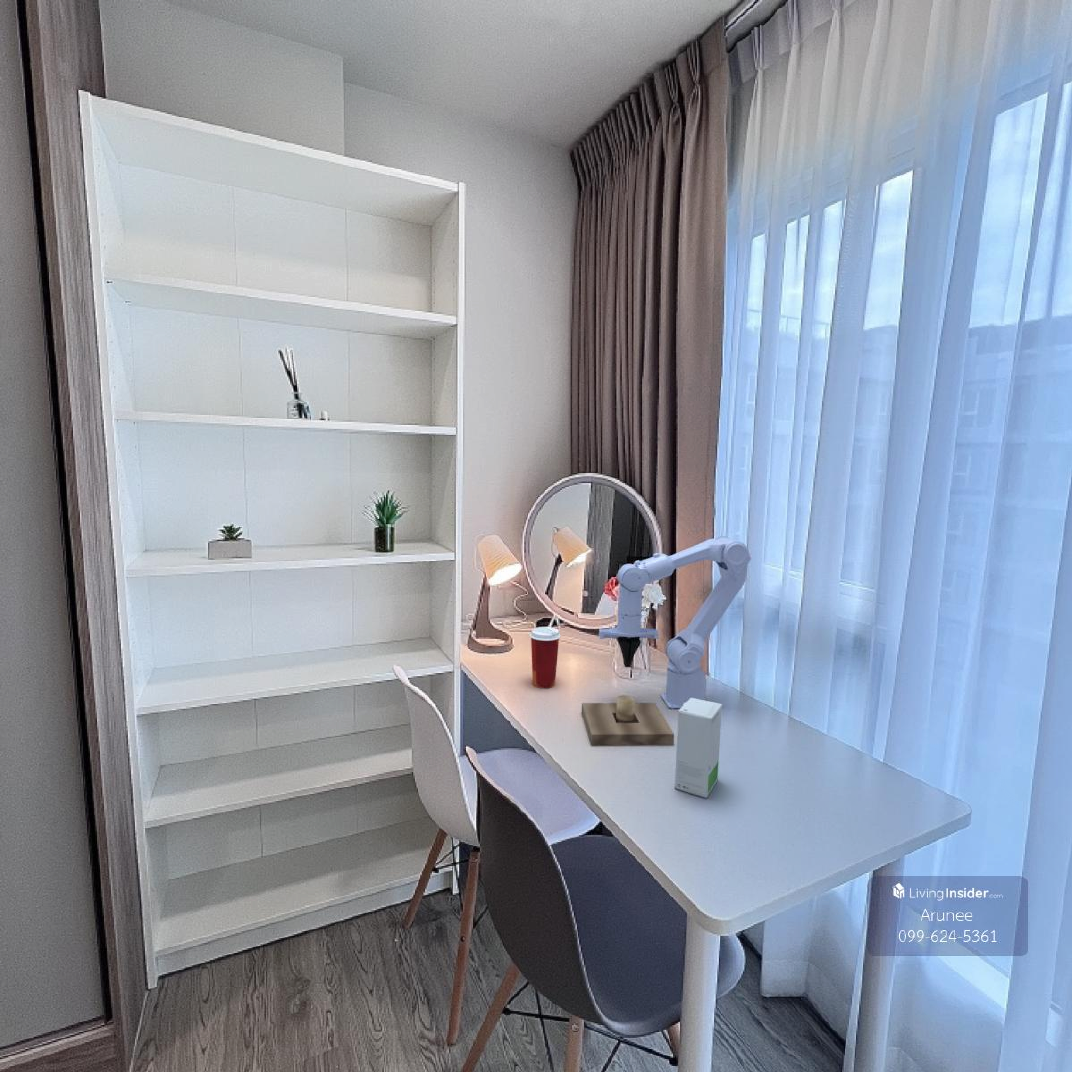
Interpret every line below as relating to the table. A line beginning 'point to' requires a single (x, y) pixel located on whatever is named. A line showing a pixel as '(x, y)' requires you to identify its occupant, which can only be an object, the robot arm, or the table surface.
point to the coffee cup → (544, 656)
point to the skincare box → (698, 746)
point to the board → (626, 725)
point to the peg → (625, 709)
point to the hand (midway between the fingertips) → (627, 665)
